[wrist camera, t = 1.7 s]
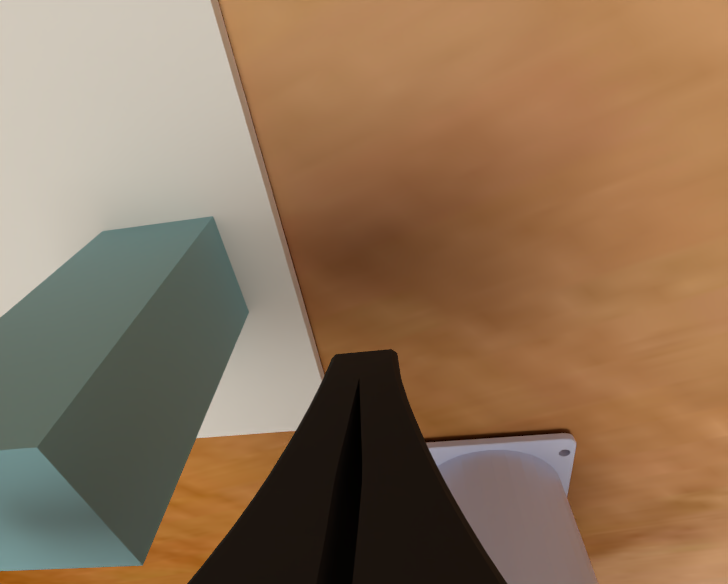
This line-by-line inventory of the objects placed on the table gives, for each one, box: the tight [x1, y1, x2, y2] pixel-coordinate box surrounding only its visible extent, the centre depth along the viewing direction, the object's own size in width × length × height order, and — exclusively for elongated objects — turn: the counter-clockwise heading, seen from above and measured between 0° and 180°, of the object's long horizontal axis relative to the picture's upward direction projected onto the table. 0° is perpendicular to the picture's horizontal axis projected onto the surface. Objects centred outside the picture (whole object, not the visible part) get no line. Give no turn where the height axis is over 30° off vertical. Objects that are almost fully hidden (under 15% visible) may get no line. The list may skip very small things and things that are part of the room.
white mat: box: [0, 0, 325, 438], centre depth 17 cm, size 18×16×1 cm
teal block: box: [0, 216, 249, 571], centre depth 12 cm, size 4×4×9 cm
